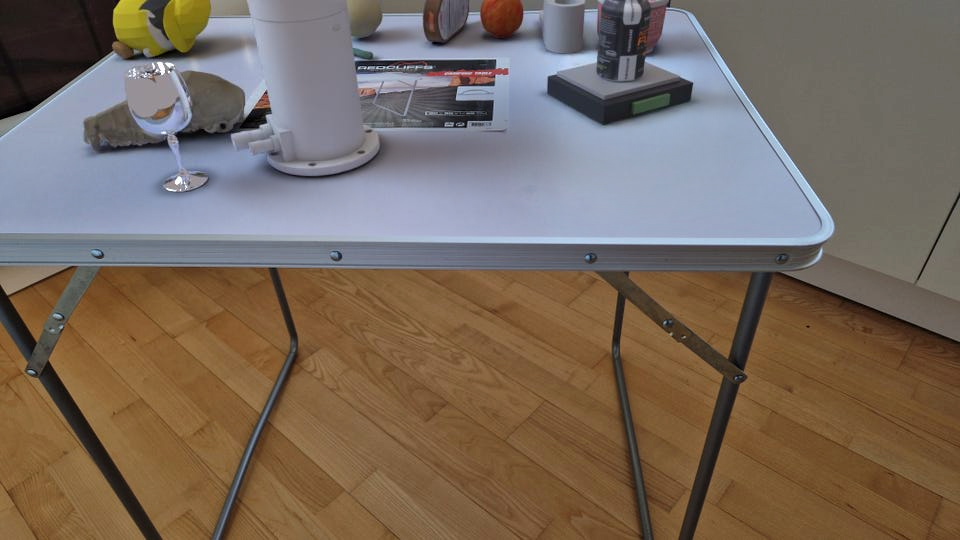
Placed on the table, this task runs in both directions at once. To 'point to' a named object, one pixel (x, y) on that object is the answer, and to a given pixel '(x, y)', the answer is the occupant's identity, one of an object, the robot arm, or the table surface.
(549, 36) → the grey hollow cylinder
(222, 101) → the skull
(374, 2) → the potato
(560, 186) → the table surface
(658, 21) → the container
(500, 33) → the fruit
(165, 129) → the wineglass
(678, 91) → the scale
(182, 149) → the table surface
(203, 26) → the toy
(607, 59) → the pill bottle
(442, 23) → the tin
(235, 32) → the table surface
